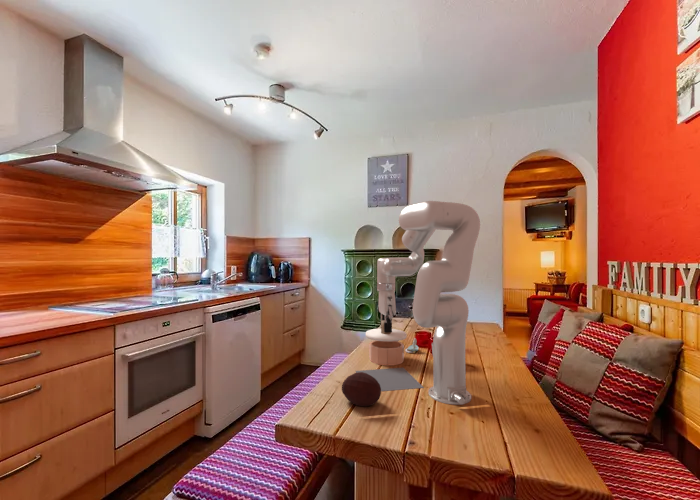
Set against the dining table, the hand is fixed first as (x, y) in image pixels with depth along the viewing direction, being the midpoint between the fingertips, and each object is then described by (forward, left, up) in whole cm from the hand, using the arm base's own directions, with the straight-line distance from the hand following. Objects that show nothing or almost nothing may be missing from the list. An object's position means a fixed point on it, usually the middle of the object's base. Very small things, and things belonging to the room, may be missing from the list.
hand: (386, 330), depth 130 cm
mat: (-20, +6, -13) cm, 24 cm away
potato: (-36, +19, -13) cm, 43 cm away
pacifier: (+11, -16, -13) cm, 23 cm away
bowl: (0, 0, -13) cm, 13 cm away
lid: (0, 0, -2) cm, 2 cm away
